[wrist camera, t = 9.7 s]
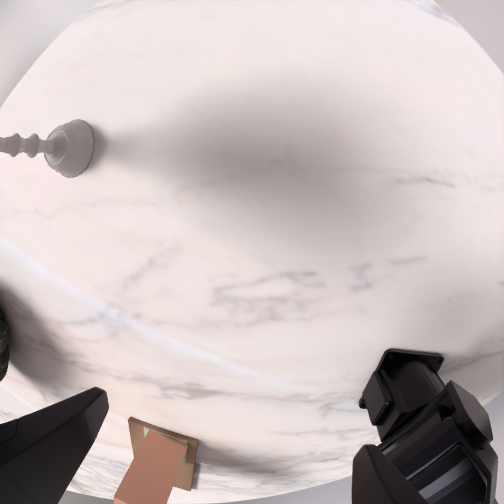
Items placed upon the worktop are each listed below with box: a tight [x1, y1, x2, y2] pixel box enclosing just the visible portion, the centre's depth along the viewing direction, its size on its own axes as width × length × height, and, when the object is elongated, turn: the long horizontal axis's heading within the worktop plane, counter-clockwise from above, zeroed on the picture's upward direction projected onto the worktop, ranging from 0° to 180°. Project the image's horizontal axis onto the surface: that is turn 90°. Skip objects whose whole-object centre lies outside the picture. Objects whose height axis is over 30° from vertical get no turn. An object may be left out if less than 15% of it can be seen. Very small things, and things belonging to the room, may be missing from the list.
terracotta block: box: [114, 429, 188, 504], centre depth 20 cm, size 4×4×10 cm
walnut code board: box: [128, 417, 198, 491], centre depth 27 cm, size 8×14×1 cm, turn 169°
